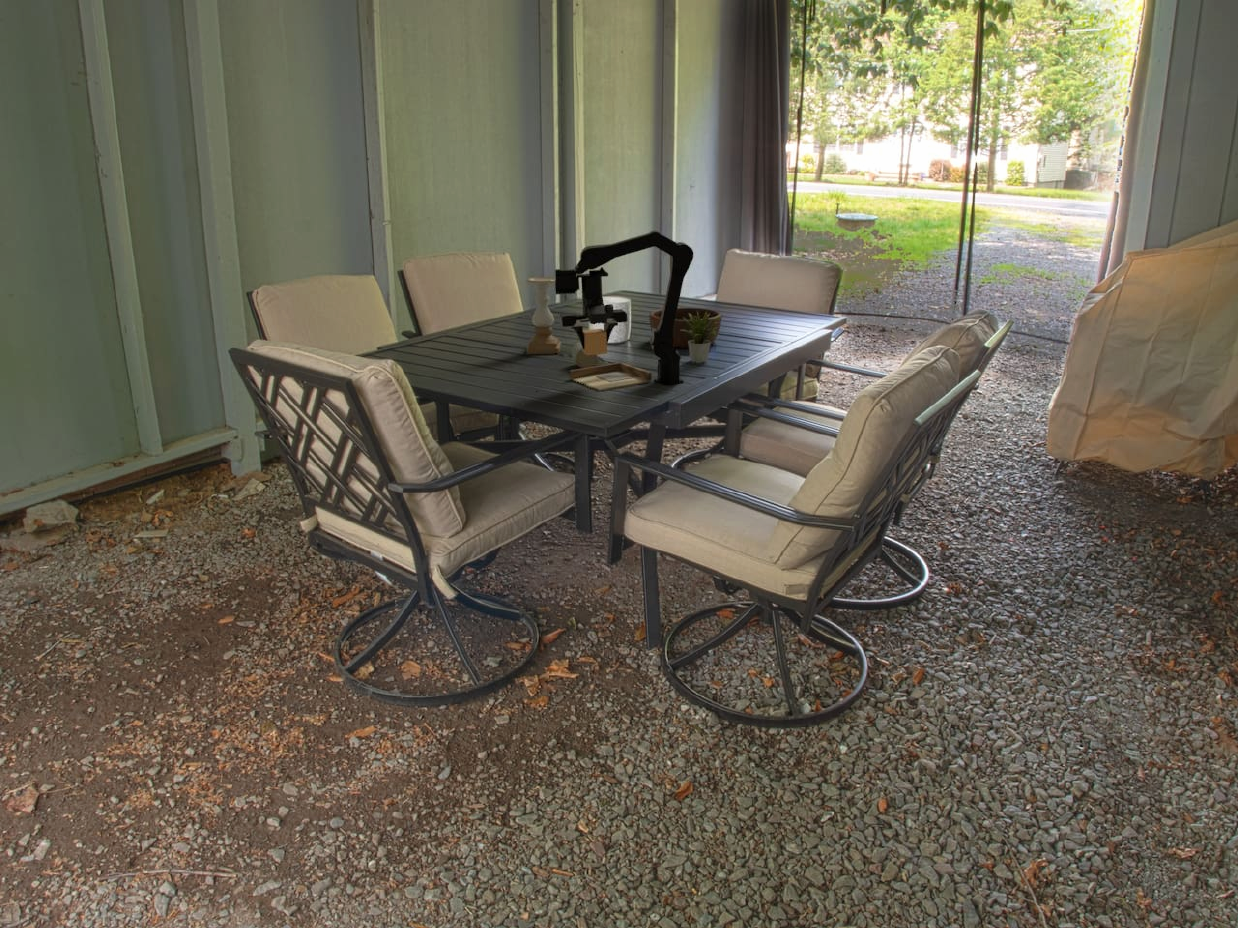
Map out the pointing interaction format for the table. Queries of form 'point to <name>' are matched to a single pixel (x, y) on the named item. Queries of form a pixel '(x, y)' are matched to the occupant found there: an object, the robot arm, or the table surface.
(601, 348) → the cube
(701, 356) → the house plant
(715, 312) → the wooden bowl
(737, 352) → the table surface
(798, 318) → the table surface
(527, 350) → the candle holder
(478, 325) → the table surface
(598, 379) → the arena
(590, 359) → the ceramic mug
